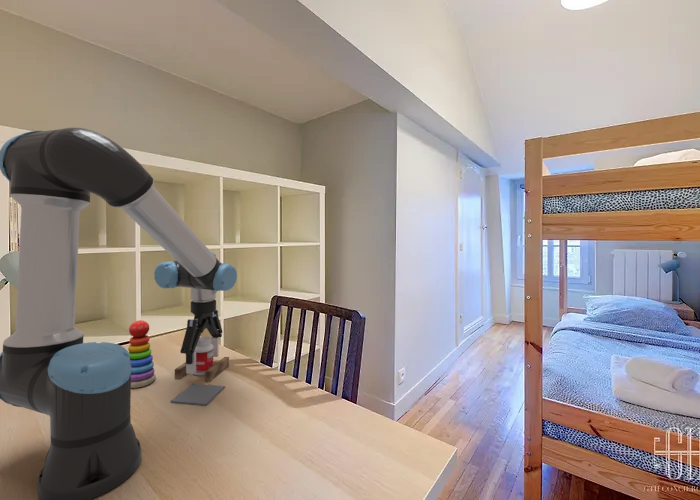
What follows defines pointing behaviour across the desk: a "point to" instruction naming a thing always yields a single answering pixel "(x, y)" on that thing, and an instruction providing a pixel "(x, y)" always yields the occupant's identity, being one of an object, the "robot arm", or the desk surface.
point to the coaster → (198, 394)
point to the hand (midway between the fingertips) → (203, 364)
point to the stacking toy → (140, 355)
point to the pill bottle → (204, 355)
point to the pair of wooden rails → (209, 374)
